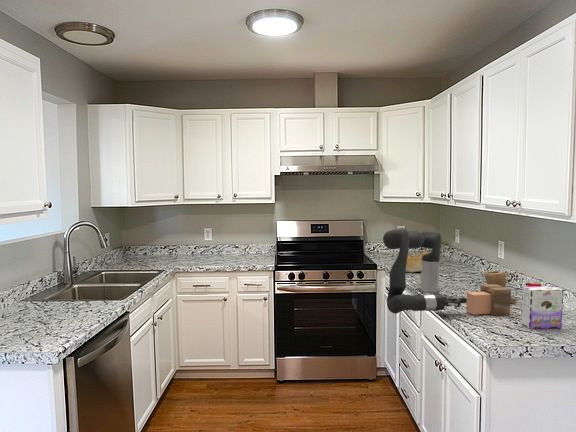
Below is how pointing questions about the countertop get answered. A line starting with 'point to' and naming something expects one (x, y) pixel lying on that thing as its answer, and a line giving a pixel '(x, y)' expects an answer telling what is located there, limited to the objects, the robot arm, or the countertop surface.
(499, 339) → the countertop surface
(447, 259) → the countertop surface
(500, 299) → the tunnel
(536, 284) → the beverage can
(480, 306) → the block
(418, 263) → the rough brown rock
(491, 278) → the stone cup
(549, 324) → the candy box
